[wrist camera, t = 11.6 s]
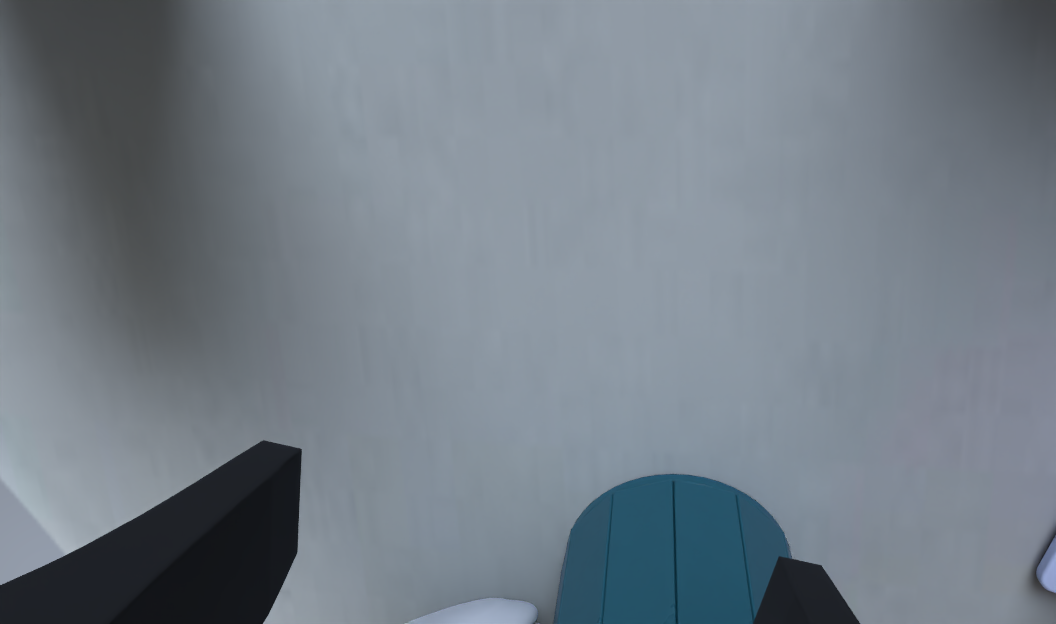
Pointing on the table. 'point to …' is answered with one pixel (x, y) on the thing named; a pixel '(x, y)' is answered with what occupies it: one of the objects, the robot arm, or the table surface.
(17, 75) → the table surface
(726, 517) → the pot
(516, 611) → the headphones
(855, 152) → the table surface
